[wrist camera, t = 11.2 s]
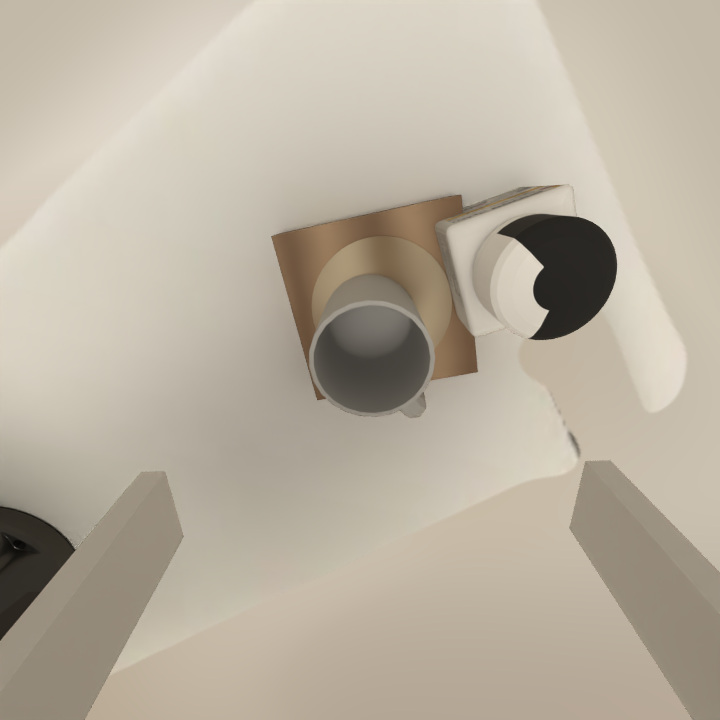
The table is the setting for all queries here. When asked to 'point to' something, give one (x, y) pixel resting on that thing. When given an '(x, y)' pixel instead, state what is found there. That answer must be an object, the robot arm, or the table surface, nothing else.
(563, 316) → the container
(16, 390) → the table surface
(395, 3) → the table surface
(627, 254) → the table surface
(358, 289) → the cup
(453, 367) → the pedestal
